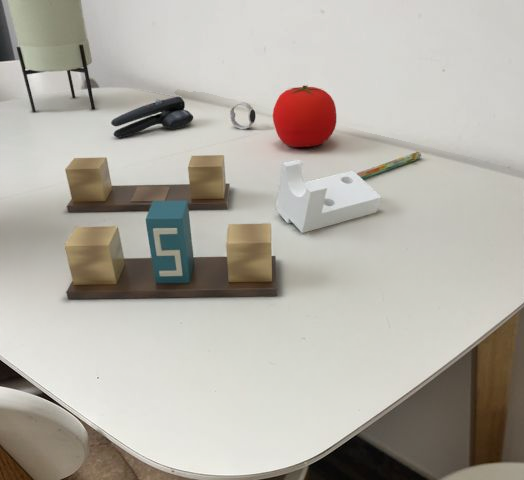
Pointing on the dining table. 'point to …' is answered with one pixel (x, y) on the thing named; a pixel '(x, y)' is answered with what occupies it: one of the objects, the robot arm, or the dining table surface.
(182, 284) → the board
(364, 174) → the pencil
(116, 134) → the can opener
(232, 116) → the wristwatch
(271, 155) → the dining table surface
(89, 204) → the board
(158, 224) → the letter S tile
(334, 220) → the bracket
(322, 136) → the tomato
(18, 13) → the planter
